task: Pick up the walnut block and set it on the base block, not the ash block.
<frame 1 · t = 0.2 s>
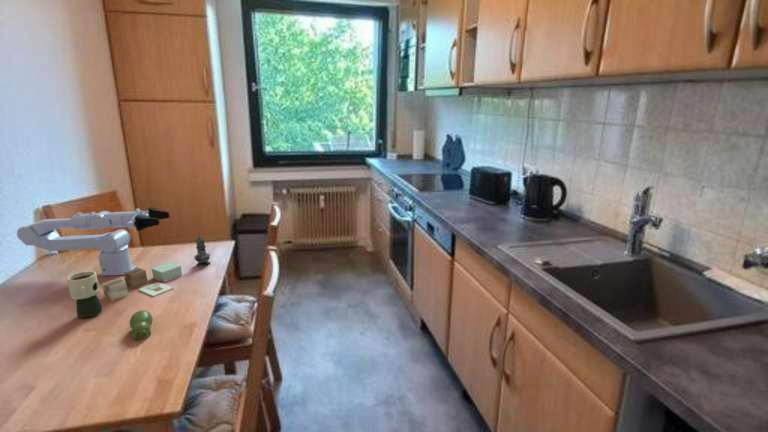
hand: (163, 218, 148), 21 cm above the table, tool horizontal, fingers open, 7 cm apart
character mug: (90, 315, 122), on the table
ash block: (116, 296, 134), on the table
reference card: (156, 289, 138), on the table
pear: (142, 333, 113), on the table
dark green chess piece: (203, 264, 160), on the table
walnut block: (137, 284, 142), on the table
base block: (167, 277, 149), on the table
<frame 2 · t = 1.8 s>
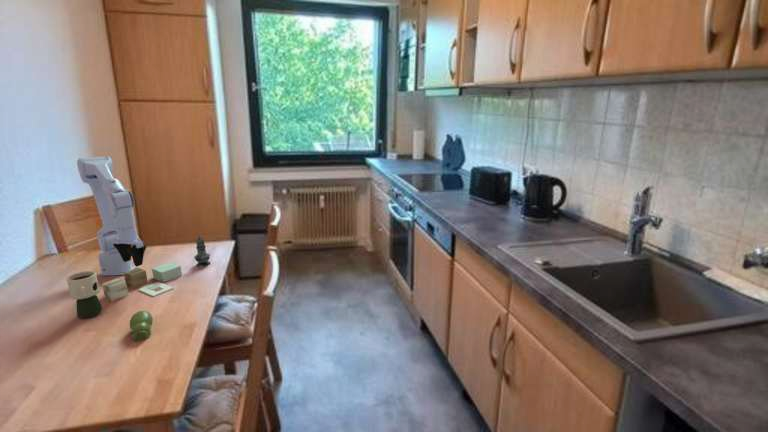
hand: (133, 263, 140), 8 cm above the table, tool pointing down, fingers open, 7 cm apart
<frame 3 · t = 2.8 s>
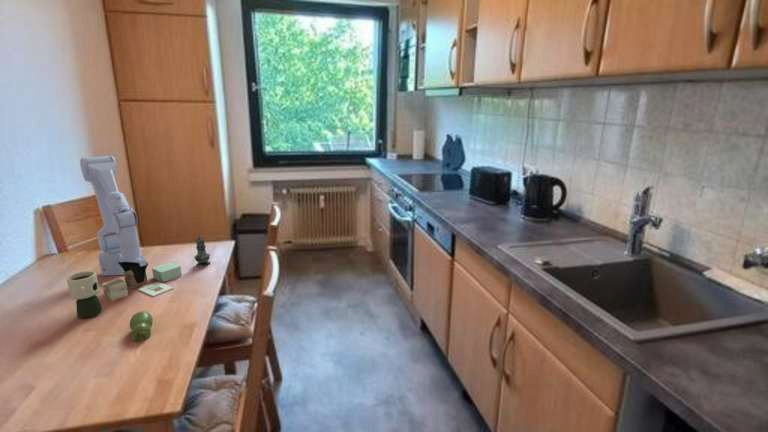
hand: (136, 280, 142), 1 cm above the table, tool pointing down, fingers closed on walnut block, 5 cm apart
walnut block: (137, 284, 142), on the table, touching gripper
everything else where it was.
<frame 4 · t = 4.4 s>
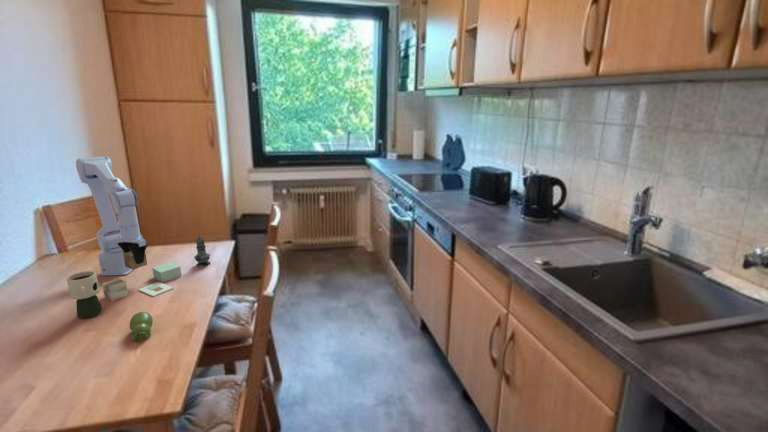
hand: (135, 261, 140), 8 cm above the table, tool pointing down, fingers closed on walnut block, 5 cm apart
walnut block: (136, 265, 141), point 7 cm above the table, touching gripper
when the fingers open (7 cm above the table, at t = 5.8 s): walnut block drops 1 cm, resting on base block.
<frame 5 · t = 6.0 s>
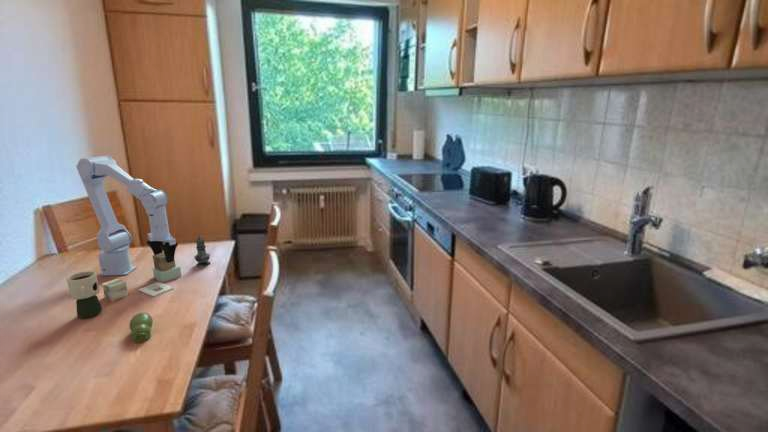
hand: (164, 259, 147), 7 cm above the table, tool pointing down, fingers open, 7 cm apart
walnut block: (165, 267, 147), point 4 cm above the table, touching base block
base block: (167, 277, 149), on the table, touching walnut block
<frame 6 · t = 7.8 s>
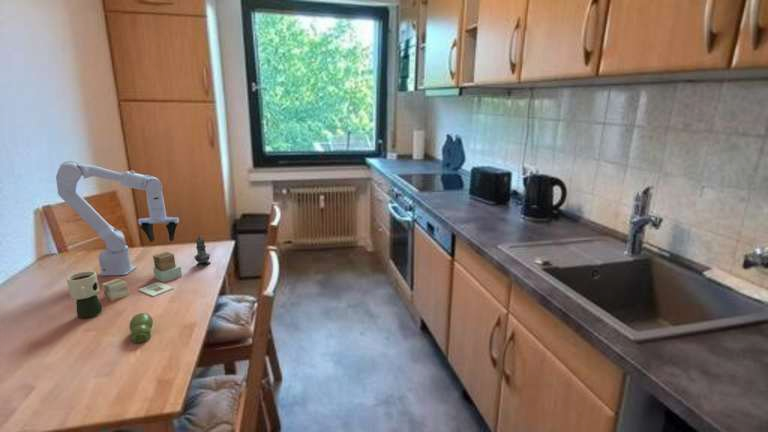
hand: (162, 240, 159), 9 cm above the table, tool pointing down, fingers open, 7 cm apart
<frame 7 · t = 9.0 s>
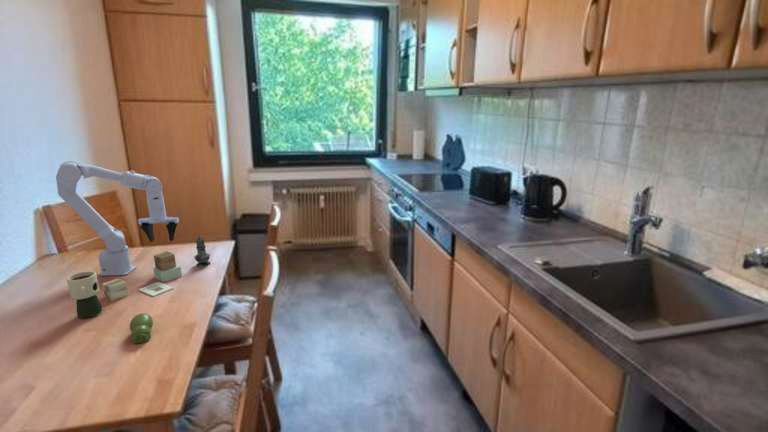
hand: (162, 240, 159), 9 cm above the table, tool pointing down, fingers open, 7 cm apart
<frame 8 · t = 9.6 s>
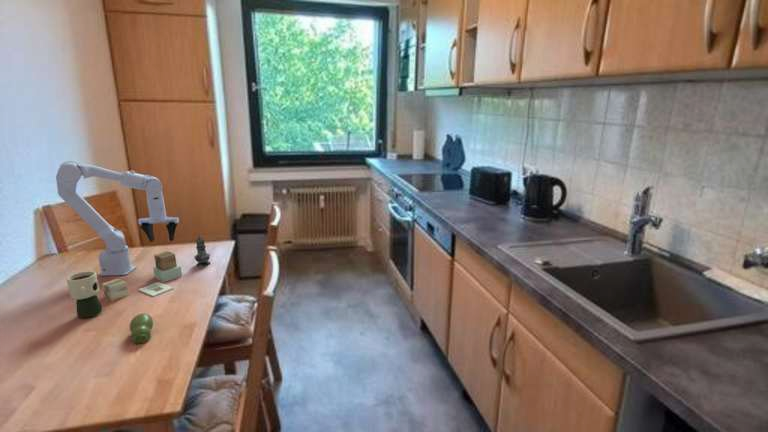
hand: (162, 240, 159), 9 cm above the table, tool pointing down, fingers open, 7 cm apart
at the end: walnut block 0.2 cm off-centre on the base block, point 4.0 cm above the base block's base; walnut block tilted 1°; the gripper is holding nothing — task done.
